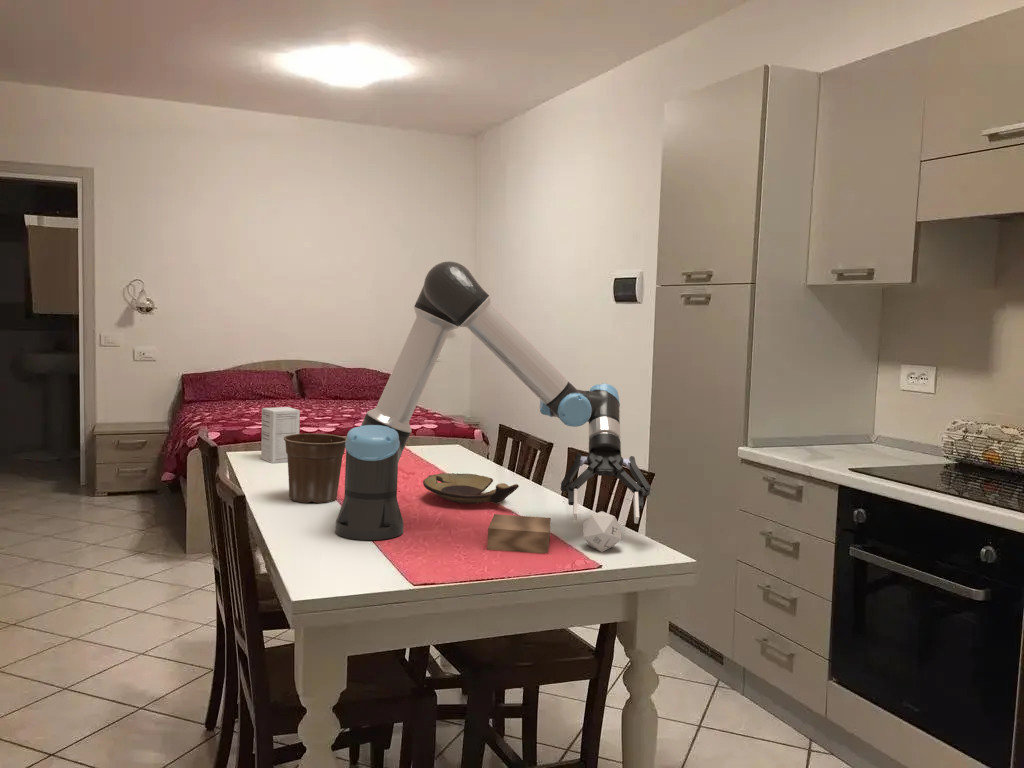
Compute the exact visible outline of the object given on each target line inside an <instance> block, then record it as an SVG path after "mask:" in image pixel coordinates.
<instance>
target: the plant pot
mask: <svg viewBox="0 0 1024 768" xmlns="http://www.w3.org/2000/svg"><path fill="white" fill-rule="evenodd" d="M346 439H347V437H345V436H342V435H336V434H329V433H309V432H308V433H299V434H293V435H287V436H285V437H284V440H285V444H286V453H287V457H288V462H287V471H288V473H287V475H288V492H289V493H288V494H289V495H288V497H289V499H290V500H291V501H294V502H295V503H303V504H304V503H305V504H309V503H311V502H313V503H315V504H325V503H330V502H333V501H336V500H337V497H338V493H339V485H340V477H341V469H342V462H343V455H345V452H346V447H345V442H346Z"/></svg>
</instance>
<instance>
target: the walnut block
mask: <svg viewBox="0 0 1024 768" xmlns="http://www.w3.org/2000/svg"><path fill="white" fill-rule="evenodd" d="M551 520H552V518H551V517H544V516H543V517H542V516H528V515H509V514H500V513H499V514H498V513H495V514H493V516H492V519H491V520H490V524H489V525H488V528H487V545H486V547H487V550H488V551H489V550H490V551H501V552H504V551H505V552H518V553H529V552H530V554H533V553H534V554H543V553H547V554H549V547H550V540H551V539H550V538H551V524H552V523H551ZM547 554H546V555H547Z"/></svg>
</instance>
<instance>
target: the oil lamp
mask: <svg viewBox="0 0 1024 768" xmlns="http://www.w3.org/2000/svg"><path fill="white" fill-rule="evenodd" d="M493 482H494V479H493V478H492V477H488V476H485V475H479V474H474V473H458V472H457V473H453V472H452V473H451V472H450V473H449V472H448V473H437V474H433V475H431V474H430V475H428V476H427V477H425V478H424V480H423V481H422V484H423V487H424V488H425V489H426V490H427V491H430V492H431V493H432V494H434V495H436V496H438V497H440V498H442V499H444V500H446V501H450V502H452V503H456V504H465V505H475V504H476V505H477V504H483V503H492V504H500V503H502V502H503V501H504V500H505V499H506V498H508V497H509V496H510V495H511V494H513V493H514V492H515V491H517V489H519V487H520V485H519V484H517V483H515V484H512V485H508V484H507V483H504V482H500V483H498V484H496V485H495V489H491V490H490V491H486V489H488V488H489V487H490V485H492V483H493ZM483 492H484V493H483Z"/></svg>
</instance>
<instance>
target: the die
mask: <svg viewBox="0 0 1024 768" xmlns="http://www.w3.org/2000/svg"><path fill="white" fill-rule="evenodd" d="M620 526H621V525H620V523H619V522H618V519H617V518H616V516H614V515H612V514H610V513H607V512H605V511H603V510H601V511H599V512H597V513H594V514H592V515H590V516H589V517H588V518H587V519H586V520H585V521H584V522H582V531H583V532H582V533H583V539H584V540H585V541H586V542H585V543H587V545H588V546H589V547H591V548H593V549H595V550H597V551H599V552H601V553H603V552H604V551H605V552H606V551H607V550H609V549H611V548H613V547H614V546H616V544H617V543H619V542H620V541H621V540H622V533H621V527H620Z"/></svg>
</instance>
